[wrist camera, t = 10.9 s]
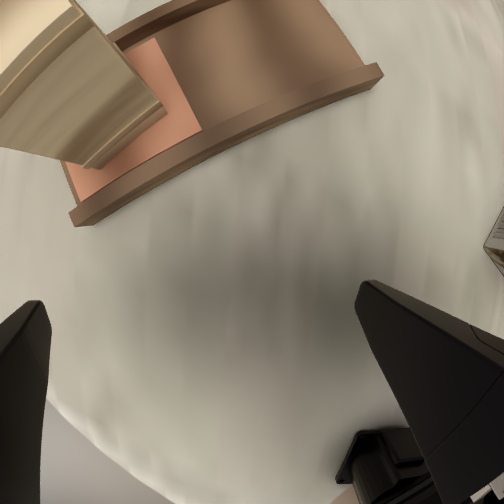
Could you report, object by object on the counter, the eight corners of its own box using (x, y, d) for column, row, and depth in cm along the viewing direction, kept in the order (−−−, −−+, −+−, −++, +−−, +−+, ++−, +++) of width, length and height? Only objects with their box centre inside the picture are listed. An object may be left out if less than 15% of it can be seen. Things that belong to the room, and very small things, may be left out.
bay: (293, -21, 17) (297, -40, 15) (370, 88, 18) (384, 75, 16) (47, 100, 18) (29, 91, 16) (92, 225, 19) (74, 227, 17)
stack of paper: (170, 113, 17) (76, 4, 6) (100, 172, 18) (-46, 141, 6) (127, 57, 17) (35, -48, 5) (63, 112, 17) (-62, 55, 5)
